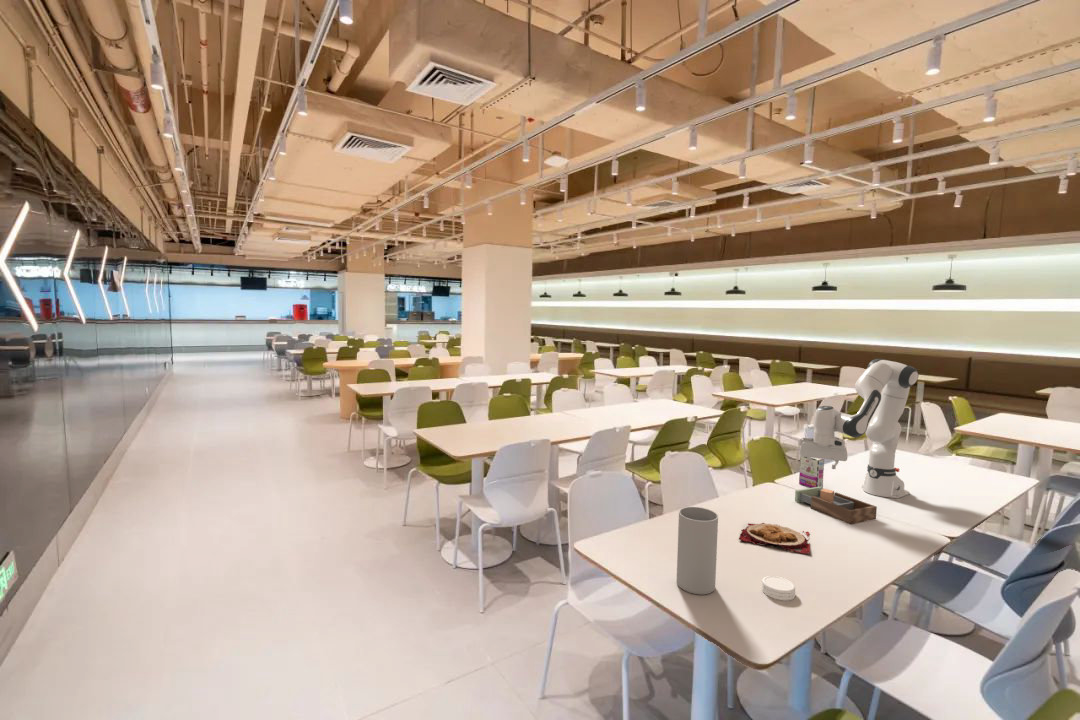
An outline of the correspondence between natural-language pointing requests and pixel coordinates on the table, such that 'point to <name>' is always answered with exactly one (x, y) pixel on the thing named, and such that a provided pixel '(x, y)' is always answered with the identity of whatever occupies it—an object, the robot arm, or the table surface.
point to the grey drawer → (807, 494)
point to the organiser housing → (845, 510)
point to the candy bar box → (811, 472)
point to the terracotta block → (827, 495)
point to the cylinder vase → (697, 550)
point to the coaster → (778, 588)
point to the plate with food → (776, 537)
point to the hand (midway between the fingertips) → (822, 467)
